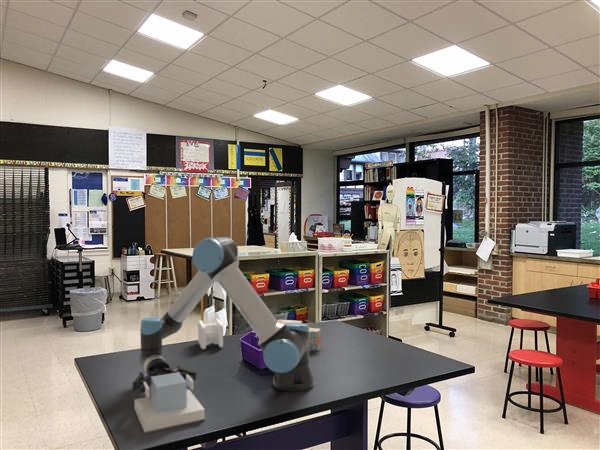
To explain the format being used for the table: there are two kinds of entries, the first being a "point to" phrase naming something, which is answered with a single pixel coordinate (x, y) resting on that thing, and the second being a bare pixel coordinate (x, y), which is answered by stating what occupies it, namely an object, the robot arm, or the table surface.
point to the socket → (168, 414)
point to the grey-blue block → (168, 392)
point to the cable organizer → (210, 333)
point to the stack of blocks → (313, 335)
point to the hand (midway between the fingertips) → (170, 389)
